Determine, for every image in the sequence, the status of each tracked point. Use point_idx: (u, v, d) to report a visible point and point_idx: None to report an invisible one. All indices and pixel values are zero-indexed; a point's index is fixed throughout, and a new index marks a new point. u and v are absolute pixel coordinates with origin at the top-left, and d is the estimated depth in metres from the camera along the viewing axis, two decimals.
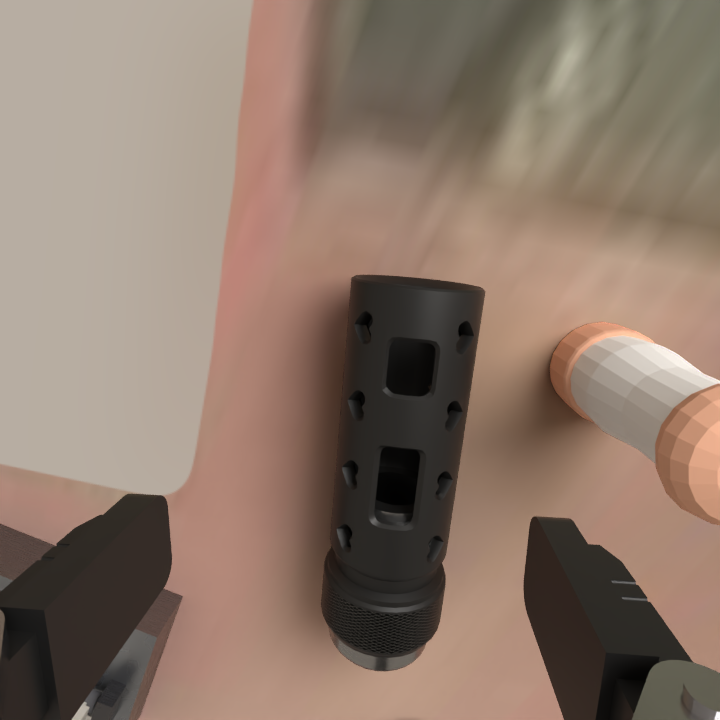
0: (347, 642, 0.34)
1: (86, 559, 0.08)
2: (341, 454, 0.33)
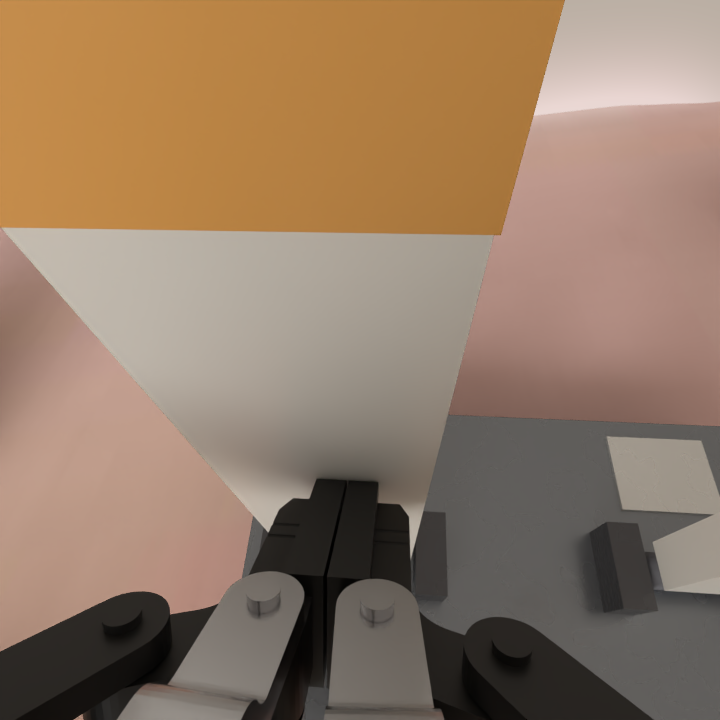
0: None
1: (326, 534, 0.09)
2: None
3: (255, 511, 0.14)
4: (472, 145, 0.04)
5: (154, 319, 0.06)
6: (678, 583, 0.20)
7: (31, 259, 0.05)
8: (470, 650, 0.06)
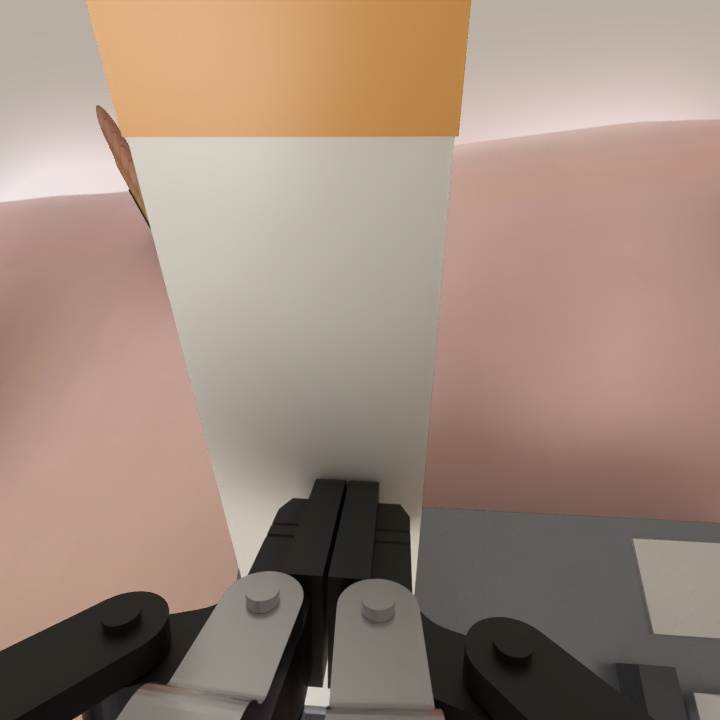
0: None
1: (325, 534, 0.09)
2: None
3: (243, 560, 0.13)
4: (435, 62, 0.06)
5: (209, 236, 0.08)
6: None
7: (137, 170, 0.08)
8: (471, 650, 0.06)
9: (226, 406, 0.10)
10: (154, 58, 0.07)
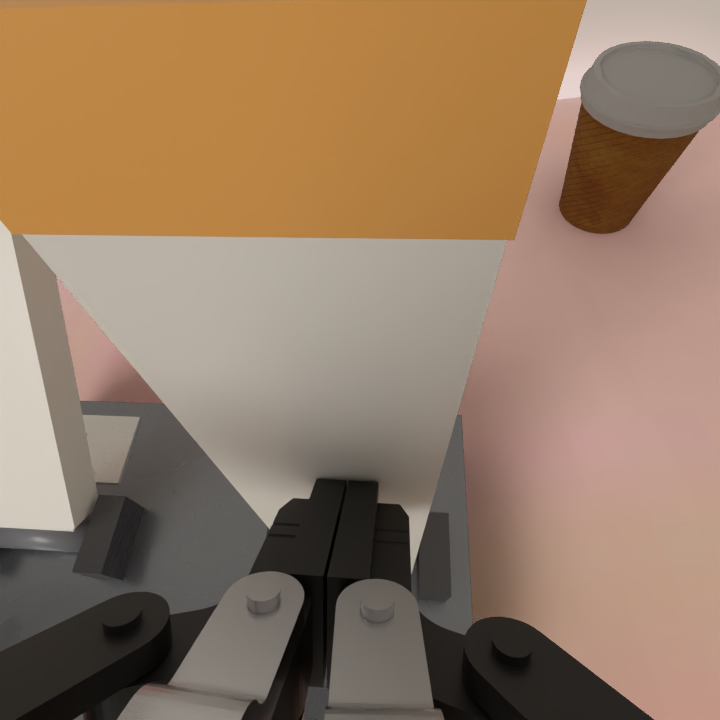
0: None
1: (325, 534, 0.09)
2: None
3: None
4: None
5: None
6: None
7: None
8: (470, 650, 0.06)
9: None
10: None
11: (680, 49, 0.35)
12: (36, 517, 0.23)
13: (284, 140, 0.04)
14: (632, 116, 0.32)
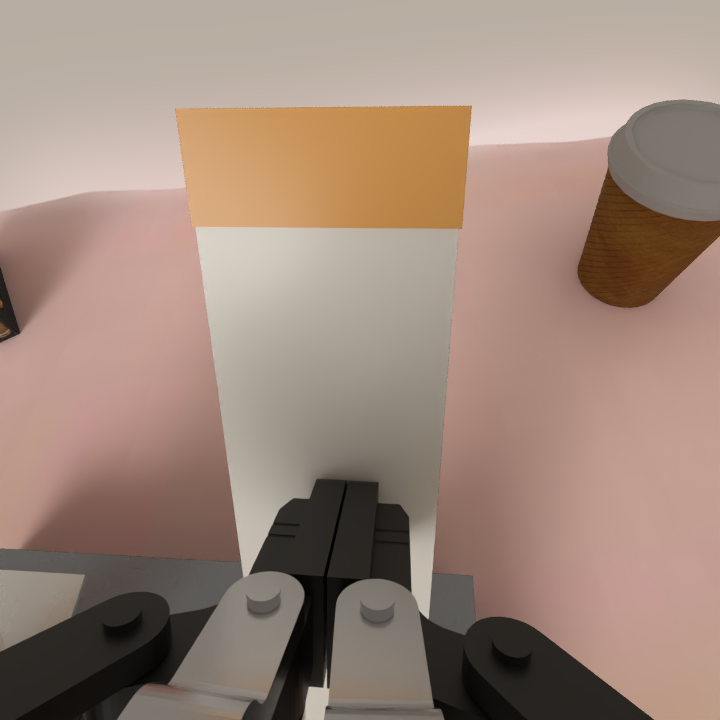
0: None
1: (326, 534, 0.09)
2: None
3: None
4: None
5: None
6: None
7: None
8: (470, 650, 0.06)
9: None
10: None
11: None
12: None
13: (349, 167, 0.09)
14: (671, 196, 0.27)
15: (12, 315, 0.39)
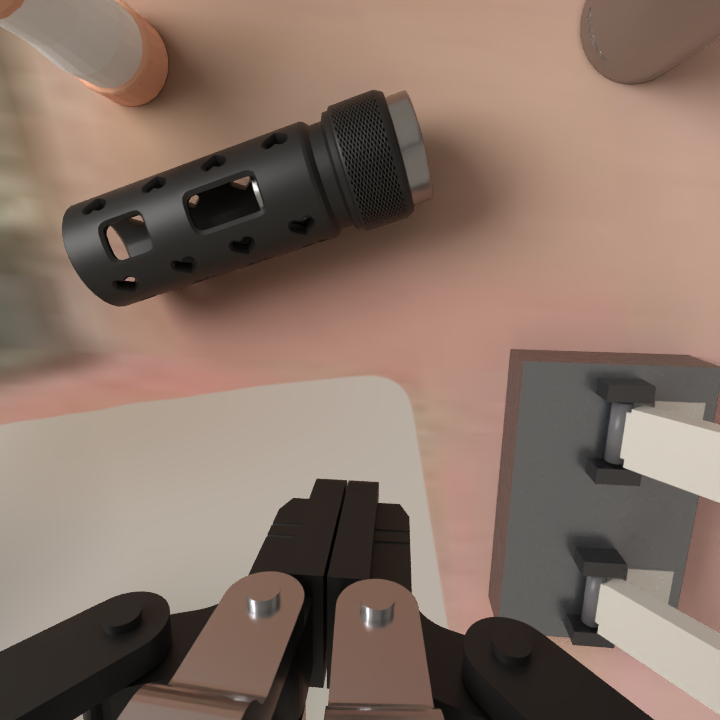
0: (398, 177, 0.34)
1: (326, 534, 0.09)
2: (241, 259, 0.38)
3: None
4: None
5: None
6: (619, 592, 0.41)
7: None
8: (470, 650, 0.06)
9: None
10: None
11: None
12: (632, 449, 0.38)
13: None
14: None
15: None
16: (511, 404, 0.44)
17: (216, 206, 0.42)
